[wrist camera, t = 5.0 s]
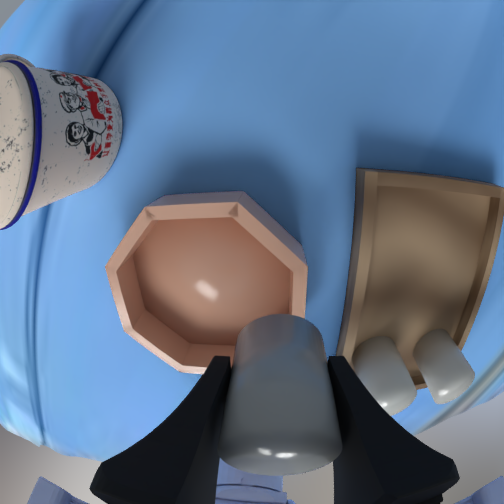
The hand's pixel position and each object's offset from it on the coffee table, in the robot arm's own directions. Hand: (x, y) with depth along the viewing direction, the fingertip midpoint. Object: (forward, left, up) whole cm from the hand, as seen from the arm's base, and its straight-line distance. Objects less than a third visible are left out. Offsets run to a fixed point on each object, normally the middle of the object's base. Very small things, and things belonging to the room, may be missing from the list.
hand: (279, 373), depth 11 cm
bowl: (0, +5, -9) cm, 10 cm away
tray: (-2, -11, -9) cm, 15 cm away
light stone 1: (-7, -8, -8) cm, 14 cm away
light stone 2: (-7, -14, -9) cm, 18 cm away
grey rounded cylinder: (0, 0, -2) cm, 2 cm away
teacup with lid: (+13, +15, -9) cm, 21 cm away
